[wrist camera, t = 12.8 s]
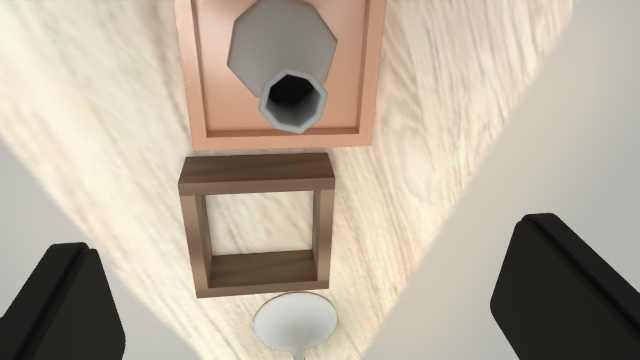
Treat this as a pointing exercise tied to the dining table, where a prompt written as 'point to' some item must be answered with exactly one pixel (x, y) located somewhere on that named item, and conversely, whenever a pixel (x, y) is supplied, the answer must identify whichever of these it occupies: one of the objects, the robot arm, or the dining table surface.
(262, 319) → the wineglass
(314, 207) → the frame
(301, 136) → the terracotta tray
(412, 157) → the dining table surface
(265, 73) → the flask
